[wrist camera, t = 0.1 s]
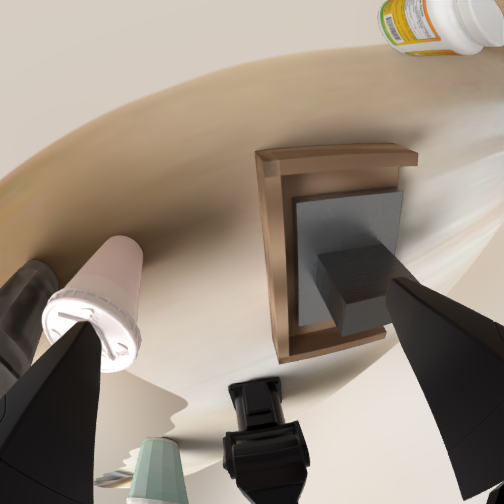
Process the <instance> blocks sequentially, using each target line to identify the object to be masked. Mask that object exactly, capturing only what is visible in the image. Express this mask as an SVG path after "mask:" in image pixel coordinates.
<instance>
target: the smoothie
mask: <svg viewBox="0 0 504 504" xmlns="http://www.w3.org/2000/svg"><path fill="white" fill-rule="evenodd" d="M142 265H143V252H142V250H141V248H140V246H139V245H138V244H137V243H136V242H135V241H134V240H133V239H131V238H129V237H127V236H122V235H117V236H113V237H111V238H109V239H108V240H107V241H106V242H105V243H104V244H103V245H102V246H101V247H100V248H99V249H98V250H97V251H96V252H95V254H94V255H93V256H92V257H91V258H90V259H89V260H88V261H87V262H86V263H85V265H84V266H83V267H82V268H81V269H80V270H79V271H78V273H77V274H76V275H75V276H74V277H73V278H72V280H71V281H70V282H69V283H68V284H67V285H66V286H65V288H64V289H61V290H59V291H58V292H56V293H54V294H53V295H52V296H51V298H50V299H49V300H48V303H47V306H46V307H45V309H44V311H43V314H42V326H43V329H44V332H45V335H46V336H47V338H48V340H49V342H50V343H51V344H52V345H53V344H54V343H55V342H56V341H57V340H58V339H59V338H60V337H61V336H62V335H64V334H65V333H66V332H67V331H68V330H69V329H70V328H71V327H72V326H73V325H74V324H75V323H76V322H79V321H89V322H90V323H91V324H92V325H93V327H94V329H95V331H96V333H97V334H98V336H99V338H100V340H101V343H102V355H101V372H107V373H110V372H118V371H121V370H124V369H126V368H128V367H130V366H131V365H132V364H133V363H134V362H135V360H136V358H137V355H138V350H139V348H140V344H141V335H140V330H139V328H138V326H137V319H138V304H139V293H140V283H141V273H142Z"/></svg>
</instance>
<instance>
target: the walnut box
mask: <svg viewBox="0 0 504 504" xmlns="http://www.w3.org/2000/svg"><path fill="white" fill-rule="evenodd" d="M255 159H256V168H257V178H258V188H259V198H260V208H261V218H262V228H263V238H264V249H265V260H266V270H267V281H268V292H269V304H270V315H271V327H272V338H273V343H274V347H275V350H276V354H277V358H278V362H279V364H284V363H289V362H294V361H299V360H303V359H308V358H312V357H317V356H321V355H325V354H329V353H333V352H337V351H341V350H345V349H349V348H352V347H356V346H360V345H363V344H367V343H370V342H374V341H377V340H380V339H383V338H385V336H386V332H387V331H386V330H385V328H384V327H383V326H380V327H377V328H373V329H370V330H366V331H362V332H359V333H355V334H351V335H347V336H343V337H341V335H340V333H339V331H338V329H337V327H336V324H335V322H334V320H333V319H332V320H328V321H323V322H318V323H314V324H309V325H304V326H298V323H297V320H296V307H295V258H294V230H293V208H292V197H299V196H308V195H316V194H325V193H334V192H344V191H353V190H364V189H375V188H386V187H396V188H397V185H398V171H399V167H400V166H417V165H418V153H417V152H414V151H412V150H409V149H407V148H404V147H401V146H399V145H396V144H393V143H370V144H339V145H320V146H306V147H294V148H283V149H273V150H264V151H255Z"/></svg>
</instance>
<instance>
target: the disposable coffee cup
mask: <svg viewBox="0 0 504 504" xmlns="http://www.w3.org/2000/svg"><path fill="white" fill-rule="evenodd" d="M127 504H189V503H188V498H187V493H186V487H185V482H184V476H183V470H182V464H181V458H180V452H179V447H178V446H177V443H176V442H174V441H172V440H169V439H166V438H159V437H149V438H146V439H145V440H144V442H143V443H142V445H141V448H140V452H139V456H138V460H137V464H136V468H135V472H134V476H133V480H132V484H131V488H130V493H129V497H128V498H127Z"/></svg>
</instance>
